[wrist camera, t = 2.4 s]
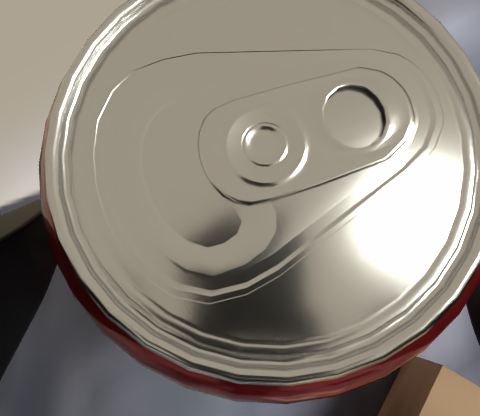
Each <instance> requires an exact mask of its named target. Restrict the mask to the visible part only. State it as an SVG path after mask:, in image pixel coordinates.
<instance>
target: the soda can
mask: <svg viewBox="0 0 480 416" xmlns="http://www.w3.org/2000/svg"><path fill="white" fill-rule="evenodd" d="M39 178H40V202H41V211H42V215H43V219H44V223H45V226H46V230H47V234H48V238H49V242H50V246H51V250H52V253H53V256H54V258H55V260H56V262H57V264H58V266H59V268H60V270H61V272H62V274H63V276H64V278H65V280H66V282H67V284H68V286H69V288H70V290H71V292H72V294H73V296H74V297H75V299H76V300H77V301H78V302H79V304H80V305H81V306H82V308H83V309H84V310H85V311H86V313H87V314H88V315H89V316H90V318H91V319H92V320H93V321H94V323H95V324H96V325H97V326H98V328H99V329H100V330H101V331H102V333H103V334H104V335H105V336H107V337H108V338H109V339H110V340H112V341H113V342H114V343H115V344H116V345H118V346H119V347H120V348H121V349H123V350H124V351H125V352H126V353H127V354H129V355H130V356H131V357H132V358H133V359H135V360H136V361H137V362H138V363H140V364H141V365H142V366H144V367H146V368H148V369H150V370H152V371H154V372H156V373H158V374H160V375H162V376H164V377H166V378H168V379H170V380H171V381H173V382H175V383H177V384H179V385H181V386H183V387H185V388H188V389H192V390H195V391H199V392H203V393H206V394H210V395H214V396H217V397H221V398H225V399H228V400H232V401H239V402H257V403H275V404H289V403H296V402H302V401H309V400H315V399H321V398H328V397H334V396H338V395H340V394H343V393H346V392H348V391H351V390H353V389H356V388H358V387H361V386H364V385H366V384H369V383H371V382H374V381H376V380H379V379H382V378H384V377H385V376H387V375H388V374H390V373H391V372H393V371H394V370H396V369H397V368H399V367H400V366H402V365H403V364H405V363H406V362H408V361H409V360H411V359H412V358H414V357H415V356H417V355H418V354H420V353H421V352H423V351H424V350H425V349H426V348H427V347H428V346H429V345H430V344H431V343H432V342H433V341H434V340H435V339H436V338H437V337H438V336H439V335H440V334H441V333H442V332H443V331H444V329H445V328H446V327H447V326H448V325H449V324H450V323H451V322H452V321H453V320H454V319H455V318H456V317H457V316H458V315H459V314H460V312H461V311H462V309H463V307H464V306H465V304H466V302H467V301H468V299H469V298H470V296H471V294H472V293H473V291H474V289H475V288H476V286H477V284H478V283H479V281H480V79H479V77H478V75H477V73H476V71H475V70H474V68H473V66H472V64H471V62H470V60H469V59H468V57H467V55H466V53H465V52H464V51H463V49H462V48H461V47H460V46H459V44H458V43H457V42H456V41H455V40H454V38H453V37H452V36H451V35H450V33H449V32H448V31H447V30H446V28H445V27H444V26H443V25H442V24H441V22H440V21H439V20H437V19H436V18H435V17H434V16H433V15H432V14H430V13H429V12H428V11H427V10H426V9H425V8H423V7H422V6H421V5H420V4H419V3H418V2H416V1H415V0H128V1H127V2H125V3H124V4H123V5H121V6H120V7H119V8H118V9H116V10H115V11H114V12H113V13H112V14H111V15H110V16H109V17H108V18H107V19H106V20H105V22H104V23H103V24H102V25H101V26H100V27H99V28H98V29H97V30H96V31H95V32H94V34H93V35H92V36H91V37H90V38H89V39H88V40H87V41H86V43H85V44H84V46H83V48H82V49H81V51H80V52H79V54H78V56H77V57H76V59H75V61H74V62H73V64H72V65H71V67H70V69H69V70H68V72H67V73H66V75H65V77H64V79H63V80H62V82H61V83H60V86H59V88H58V91H57V94H56V96H55V99H54V102H53V105H52V107H51V110H50V112H49V115H48V118H47V120H46V124H45V131H44V136H43V143H42V148H41V155H40V161H39Z"/></svg>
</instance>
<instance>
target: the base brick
mask: <svg viewBox="0 0 480 416" xmlns="http://www.w3.org/2000/svg"><path fill="white" fill-rule="evenodd" d="M377 416H480V387H478V386H476V385H475V384H473V383H471V382H470V381H468V380H466V379H465V378H463V377H461V376H460V375H458V374H457V373H455V372H453V371H452V370H450V369H448V368H447V367H445V366H443V365H440V364H437V363H434V362H431V361H428V360H425V359H422V358H419V357H416V356H415V357H414V358H412V359H411V360H409V361H408V362H406V363H405V364H403V365H402V367H401V369H400V371H399V373H398V375H397V377H396V379H395V381H394V383H393V385H392V387H391V389H390V391H389V393H388V395H387V397H386V399H385V401H384V403H383V405H382V407H381V409H380V411H379V413H378V415H377Z"/></svg>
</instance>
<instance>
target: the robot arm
mask: <svg viewBox="0 0 480 416" xmlns="http://www.w3.org/2000/svg"><path fill="white" fill-rule="evenodd" d="M56 266H57V262H56V260H55V258H54V256H53V253H52V250H51V246H50V242H49V238H48V234H47V230H46V226H45V223H44V219H43V215H42V211H41V202H40V200H37V201H34V202H32V203H30V204H27V205H25V206H23V207H20V208H18V209H16V210H13V211H11V212H9V213H6V214H4V215H2V216H0V380H1V378H2V376H3V374H4V372H5V370H6V369H7V367H8V365H9V363H10V361H11V359H12V357H13V355H14V353H15V352H16V350H17V348H18V346H19V344H20V342H21V340H22V338H23V336H24V335H25V333H26V331H27V329H28V327H29V325H30V323H31V321H32V319H33V318H34V316H35V314H36V312H37V310H38V308H39V306H40V304H41V302H42V300H43V298H44V296H45V294H46V291H47V289H48V286H49V284H50V281H51V279H52V276H53V273H54V271H55V268H56ZM466 305H467V309H468V313H469V316H470V320H471V323H472V326H473V329H474V332H475V335H476V337H477V340H478V343H479V345H480V281H479V283H478V284H477V286H476V288H475V289H474V291H473V293H472V294H471V296H470V298H469V299H468V301H467V302H466Z"/></svg>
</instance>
